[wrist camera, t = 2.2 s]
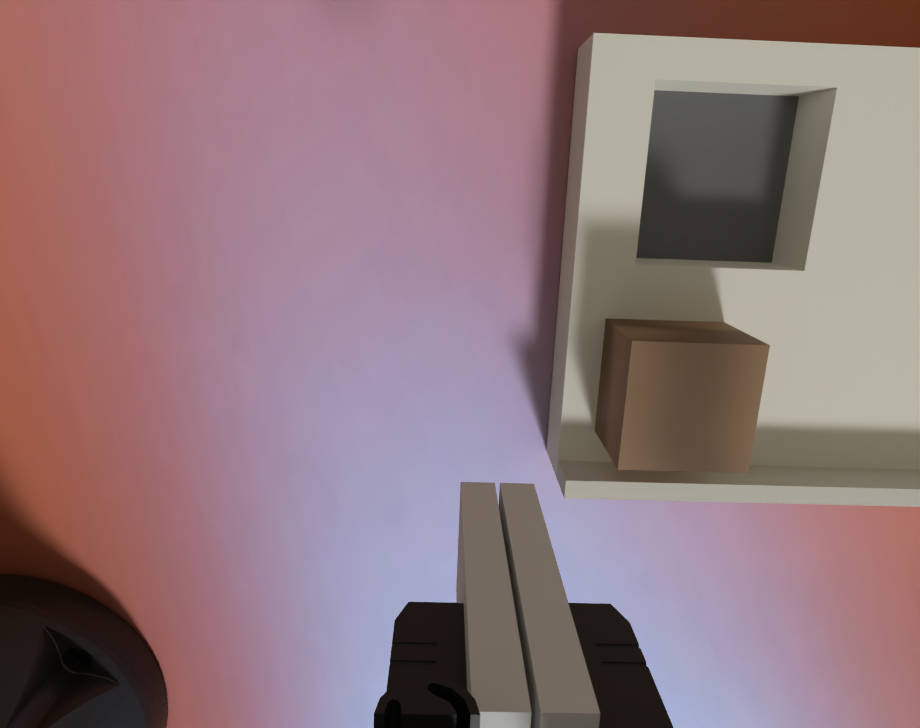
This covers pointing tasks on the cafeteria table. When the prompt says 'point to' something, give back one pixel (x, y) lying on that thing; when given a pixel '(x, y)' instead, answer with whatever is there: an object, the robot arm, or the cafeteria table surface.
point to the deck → (750, 254)
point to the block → (679, 395)
